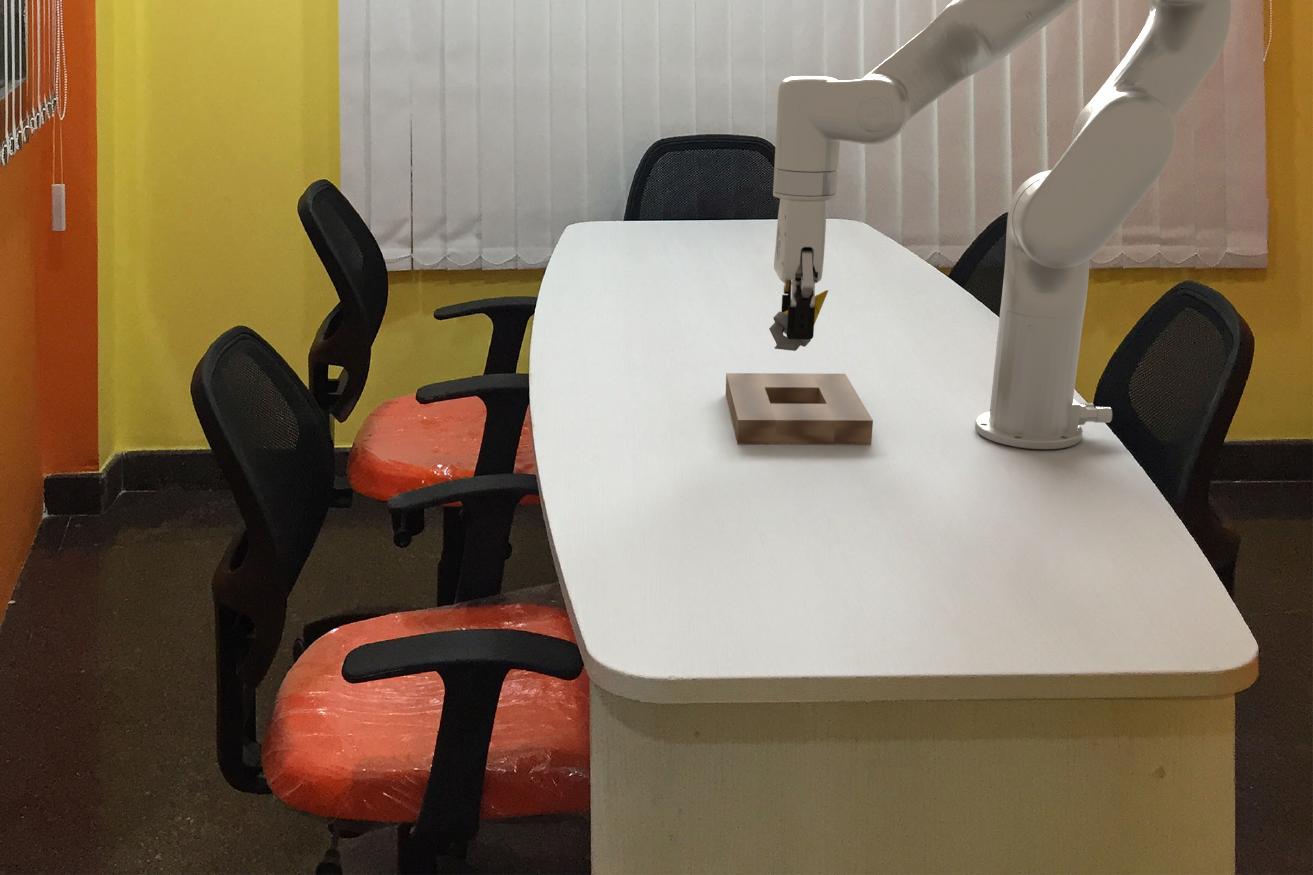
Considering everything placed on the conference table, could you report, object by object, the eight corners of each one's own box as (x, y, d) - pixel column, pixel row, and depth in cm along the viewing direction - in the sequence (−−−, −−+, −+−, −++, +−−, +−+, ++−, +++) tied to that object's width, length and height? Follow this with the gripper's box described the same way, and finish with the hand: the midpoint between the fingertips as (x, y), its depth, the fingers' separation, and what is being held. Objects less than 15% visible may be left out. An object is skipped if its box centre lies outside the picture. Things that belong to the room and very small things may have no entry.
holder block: (843, 395, 162) (845, 373, 161) (871, 444, 143) (873, 420, 142) (725, 394, 162) (726, 373, 161) (737, 443, 143) (738, 420, 142)
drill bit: (762, 344, 152) (815, 287, 153) (793, 369, 150) (846, 310, 151) (754, 327, 147) (808, 268, 148) (786, 352, 145) (841, 292, 146)
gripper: (766, 175, 151) (759, 316, 157) (782, 193, 135) (773, 350, 141) (825, 176, 151) (816, 316, 157) (848, 195, 135) (837, 351, 141)
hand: (796, 331), depth 149 cm, fingers closed on drill bit, 5 cm apart
